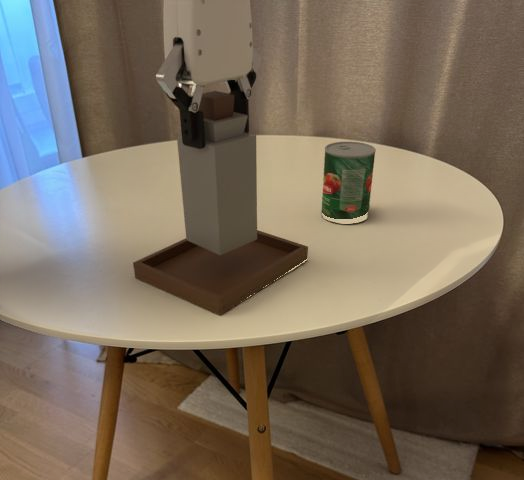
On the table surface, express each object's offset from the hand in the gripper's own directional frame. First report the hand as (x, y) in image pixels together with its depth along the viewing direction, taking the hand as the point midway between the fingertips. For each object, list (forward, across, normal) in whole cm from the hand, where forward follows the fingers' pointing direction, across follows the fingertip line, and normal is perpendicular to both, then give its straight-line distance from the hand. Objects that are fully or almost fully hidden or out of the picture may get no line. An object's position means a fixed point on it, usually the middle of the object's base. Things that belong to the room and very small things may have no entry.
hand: (216, 138), depth 66 cm
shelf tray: (+18, 0, 0) cm, 18 cm away
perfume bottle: (+13, 0, 0) cm, 13 cm away
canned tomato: (+18, -27, +3) cm, 33 cm away
